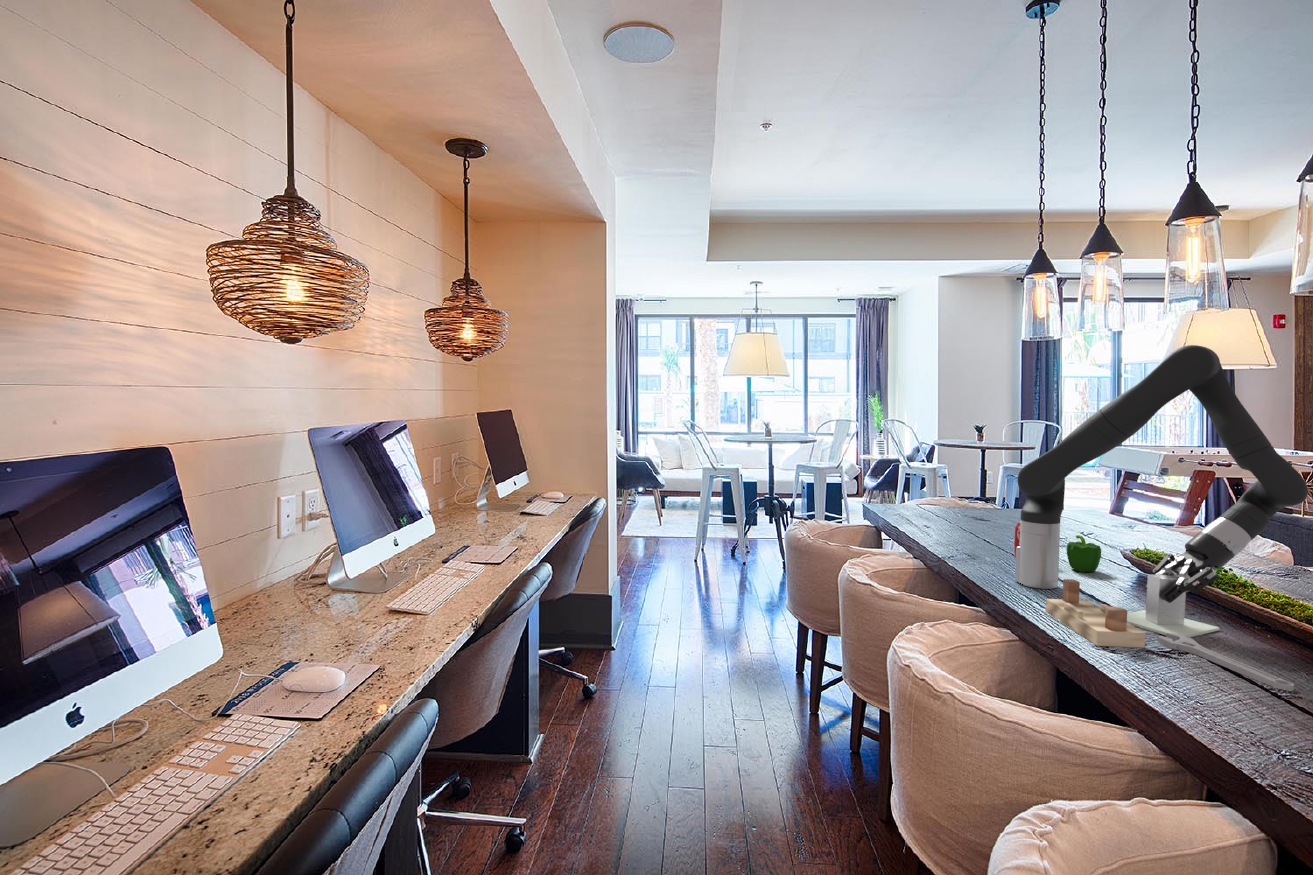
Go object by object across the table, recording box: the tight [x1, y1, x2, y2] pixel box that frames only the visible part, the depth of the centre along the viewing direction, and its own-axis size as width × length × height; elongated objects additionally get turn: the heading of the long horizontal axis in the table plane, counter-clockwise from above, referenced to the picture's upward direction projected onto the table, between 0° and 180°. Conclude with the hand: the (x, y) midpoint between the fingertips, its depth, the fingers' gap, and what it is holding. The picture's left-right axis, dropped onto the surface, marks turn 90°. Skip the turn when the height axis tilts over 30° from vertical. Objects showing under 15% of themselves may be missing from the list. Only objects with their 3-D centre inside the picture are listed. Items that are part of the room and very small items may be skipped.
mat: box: [1127, 609, 1221, 638], centre depth 147 cm, size 14×14×1 cm
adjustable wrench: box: [1157, 633, 1295, 690], centre depth 126 cm, size 25×6×2 cm, turn 2°
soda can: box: [1013, 519, 1021, 559], centre depth 206 cm, size 7×7×12 cm
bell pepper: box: [1066, 534, 1102, 573], centre depth 194 cm, size 8×8×10 cm
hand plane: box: [1045, 578, 1146, 648], centre depth 145 cm, size 22×9×8 cm, turn 174°
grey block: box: [1145, 573, 1187, 625], centre depth 147 cm, size 4×6×10 cm
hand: (1156, 595), depth 147 cm, fingers open, 5 cm apart
